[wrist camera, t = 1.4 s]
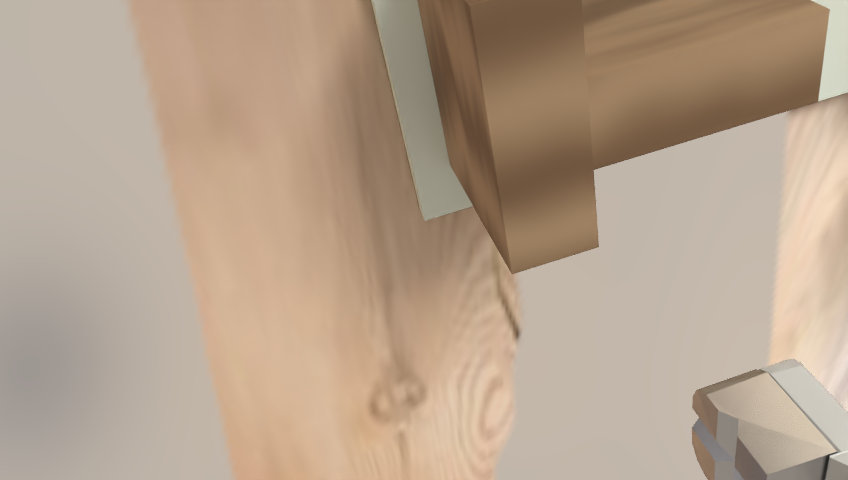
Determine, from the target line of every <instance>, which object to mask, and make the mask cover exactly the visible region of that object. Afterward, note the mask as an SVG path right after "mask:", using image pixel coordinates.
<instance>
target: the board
mask: <svg viewBox="0 0 848 480" xmlns="http://www.w3.org/2000/svg"><path fill="white" fill-rule="evenodd" d="M811 1H813V2H816V3H818V4H820V5H822V6H824V7H826V8H828V9H830V12H829V20H828V28H827V35H826V43H825V51H824V59H823V67H822V75H821V83H820V90H819V98H818V101H821V100H825V99H828V98H831V97H834V96H838V95H841V94H844V93H848V0H811ZM371 3H372V7H373V11H374V16H375V20H376V24H377V28H378V33H379V37H380V41H381V45H382V50H383V54H384V58H385V63H386V67H387V71H388V75H389V80H390V84H391V88H392V92H393V97H394V101H395V105H396V109H397V114H398V118H399V122H400V126H401V131H402V135H403V139H404V144H405V148H406V152H407V156H408V161H409V165H410V169H411V173H412V178H413V182H414V186H415V190H416V195H417V199H418V203H419V207H420V212H421V214H422V216H423V218H424V220H425V221H426V220H430V219H433V218H436V217H439V216H443V215H446V214H449V213H453V212H456V211H459V210H462V209H466V208H469V207H472V206H473V205H472V203H471V201H470V199H469V198H468V196H467V194H466V192H465V191H464V189H463V187H462V185H461V184H460V182H459V180H458V178H457V177H456V175H455V173H454V171H453V170H452V168H451V166H450V163H449V158H448V153H447V148H446V143H445V138H444V132H443V127H442V122H441V117H440V112H439V107H438V102H437V97H436V92H435V87H434V82H433V77H432V72H431V67H430V62H429V57H428V52H427V47H426V42H425V37H424V32H423V26H422V21H421V16H420V11H419V6H418V1H417V0H371Z"/></svg>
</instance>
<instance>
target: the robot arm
mask: <svg viewBox="0 0 848 480" xmlns="http://www.w3.org/2000/svg"><path fill="white" fill-rule="evenodd" d="M692 407H693V409H694V411H695V412H696V414H697V415H698V416H699V419H698V420H697V422H696V423H695V424H694V426H693V427H692V444H693V447H694V450H695V454H696V457H697V460H698V462H699V464H700V466H701V468H702V470H703V472H704V474H705V476H706V477H707V479H708V480H848V412H847V411H846V410H845V409H844V407H843V406H842V405H841V404H840V403H839V402H838V401H837V400H836V399H835V398H834V397H833V396H832V395H831V394H830V393H829V392H828V391H827V390H826V389H825V388H824V386H823V385H822V384H821V383H820V382H819V381H818V380H817V379H816V378H815V377H814V376H813V375H812V374H811V373H810V372H809V371H808V370H807V369H806V368H805V367H804V365H803V364H802V363H801V362H799V361H797V360H794V359H788V360H785V361H782V362H779V363H776V364H773V365H771V366H768V367H765V368H762V369H760V370H753V371H750V372H747V373H744V374H741V375H739V376H736V377H733V378H730V379H727V380H724V381H721V382H719V383H716V384H713V385H710V386H707V387H705V388H701V389H699V390H697V391H696V392H695V394H694V395H693V406H692Z"/></svg>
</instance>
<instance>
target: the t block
mask: <svg viewBox="0 0 848 480" xmlns="http://www.w3.org/2000/svg"><path fill="white" fill-rule="evenodd" d="M417 1H418V6H419V11H420V16H421V21H422V26H423V32H424V37H425V42H426V47H427V52H428V57H429V62H430V67H431V72H432V77H433V82H434V87H435V92H436V97H437V102H438V107H439V112H440V117H441V122H442V127H443V132H444V138H445V143H446V148H447V153H448V158H449V163H450V166H451V168H452V170H453V171H454V173H455V175H456V177H457V178H458V180H459V182H460V184H461V185H462V187H463V189H464V191H465V192H466V194H467V196H468V198H469V199H470V201H471V203H472V205H473V207H474V208H475V210H476V212H477V214H478V215H479V217H480V219H481V221H482V222H483V224H484V226H485V228H486V229H487V231H488V233H489V235H490V236H491V238H492V240H493V242H494V243H495V245H496V247H497V249H498V250H499V252H500V254H501V256H502V257H503V259H504V261H505V263H506V264H507V266H508V268H509V270H510V272H511V273H512V274H514V273H517V272H520V271H524V270H527V269H530V268H533V267H536V266H539V265H543V264H546V263H549V262H552V261H555V260H559V259H562V258H565V257H568V256H572V255H575V254H578V253H581V252H584V251H588V250H591V249H594V248H597V247H599V245H598V229H597V215H596V200H595V186H594V171H593V170H595V169H598V168H601V167H604V166H608V165H611V164H614V163H617V162H621V161H624V160H628V159H631V158H634V157H637V156H641V155H644V154H647V153H650V152H654V151H657V150H660V149H664V148H667V147H670V146H674V145H677V144H680V143H684V142H687V141H690V140H693V139H697V138H700V137H703V136H707V135H710V134H713V133H716V132H719V131H723V130H726V129H730V128H733V127H736V126H739V125H743V124H746V123H749V122H753V121H756V120H759V119H762V118H766V117H769V116H772V115H775V114H779V113H782V112H786V111H789V110H792V109H795V108H799V107H802V106H805V105H809V104H812V103H815V102H818V98H819V90H820V83H821V75H822V67H823V59H824V51H825V43H826V35H827V28H828V20H829V12H830V9H828V8H826V7H824V6H822V5H820V4H818V3H816V2H813V1H811V0H417Z"/></svg>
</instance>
